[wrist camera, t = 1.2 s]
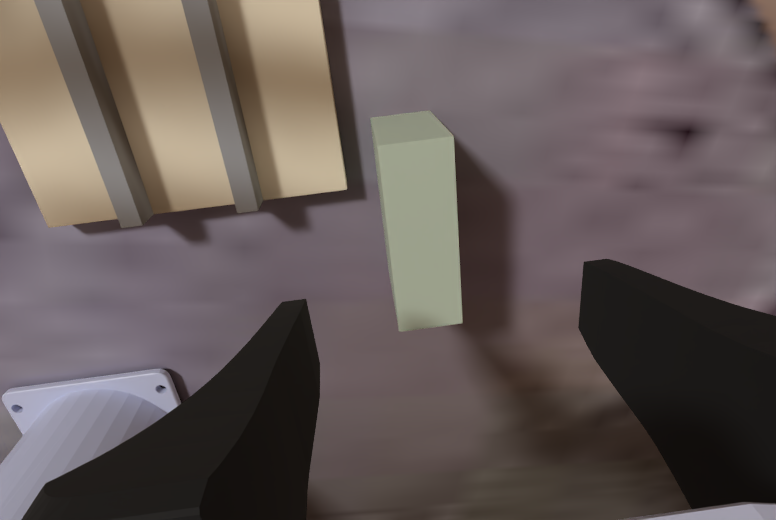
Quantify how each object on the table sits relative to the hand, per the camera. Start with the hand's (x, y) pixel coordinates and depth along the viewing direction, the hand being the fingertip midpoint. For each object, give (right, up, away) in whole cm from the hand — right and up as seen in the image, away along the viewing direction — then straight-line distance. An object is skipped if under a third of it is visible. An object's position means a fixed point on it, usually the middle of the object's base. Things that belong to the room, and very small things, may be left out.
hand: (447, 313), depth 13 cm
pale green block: (-1, +4, +9) cm, 10 cm away
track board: (-10, +8, +6) cm, 14 cm away
